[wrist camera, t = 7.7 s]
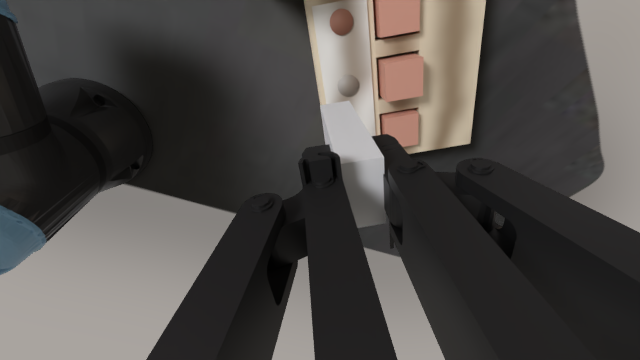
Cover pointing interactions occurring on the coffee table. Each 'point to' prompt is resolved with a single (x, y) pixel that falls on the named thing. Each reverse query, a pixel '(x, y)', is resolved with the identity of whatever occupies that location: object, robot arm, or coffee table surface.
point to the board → (430, 42)
